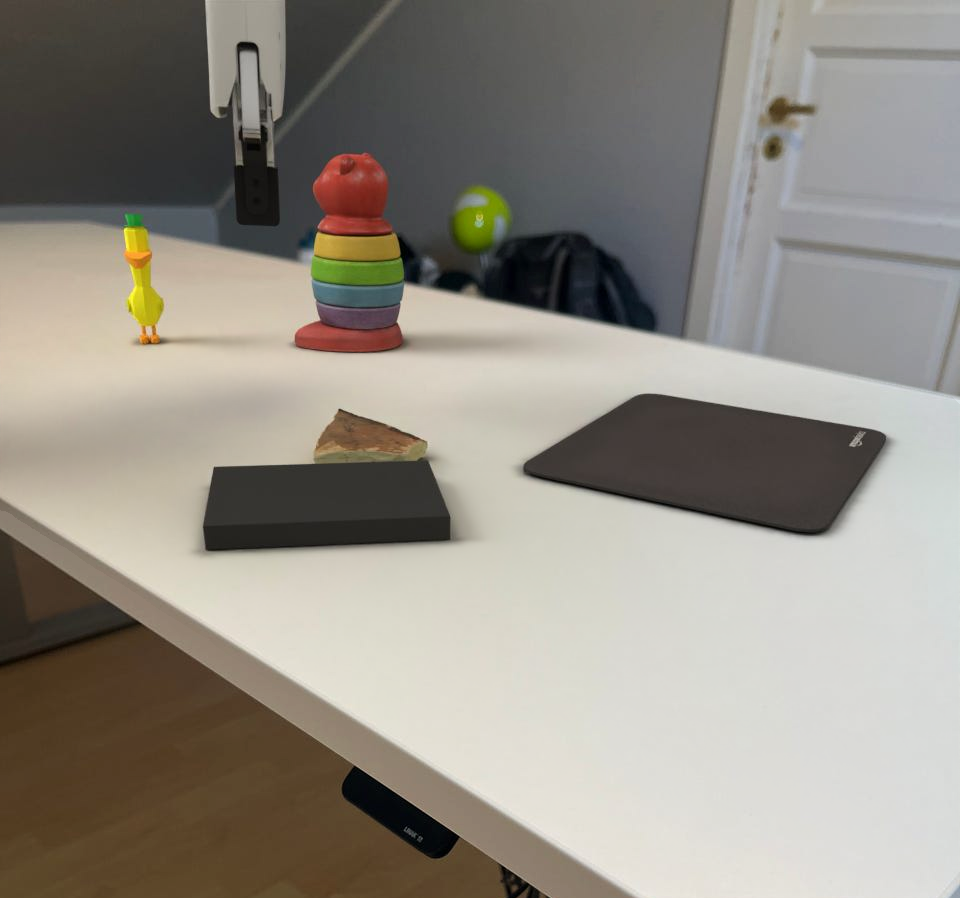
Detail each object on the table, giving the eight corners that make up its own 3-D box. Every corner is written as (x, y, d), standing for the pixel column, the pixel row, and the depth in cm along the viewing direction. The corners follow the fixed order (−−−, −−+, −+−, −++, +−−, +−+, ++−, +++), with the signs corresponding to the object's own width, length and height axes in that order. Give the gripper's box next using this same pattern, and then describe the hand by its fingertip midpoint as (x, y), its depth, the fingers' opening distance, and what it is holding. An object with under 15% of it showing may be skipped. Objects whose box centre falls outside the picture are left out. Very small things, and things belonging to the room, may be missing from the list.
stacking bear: (343, 327, 108) (336, 148, 99) (423, 338, 104) (423, 153, 96) (286, 346, 99) (273, 151, 91) (372, 358, 96) (367, 157, 87)
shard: (339, 427, 76) (338, 404, 75) (436, 431, 76) (436, 408, 75) (309, 473, 67) (308, 448, 66) (420, 479, 66) (420, 453, 65)
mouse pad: (822, 537, 59) (822, 533, 59) (513, 471, 68) (513, 468, 68) (889, 434, 78) (890, 431, 78) (642, 393, 87) (642, 391, 87)
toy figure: (167, 348, 97) (150, 218, 91) (129, 349, 96) (110, 218, 90) (168, 334, 103) (152, 210, 97) (132, 335, 102) (115, 210, 96)
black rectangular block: (205, 550, 55) (202, 525, 54) (215, 488, 64) (213, 466, 63) (450, 539, 57) (450, 516, 57) (428, 481, 66) (428, 459, 65)
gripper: (197, -58, 72) (215, 212, 80) (175, -93, 59) (200, 233, 68) (300, -49, 73) (307, 216, 82) (301, -81, 60) (309, 238, 69)
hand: (258, 223), depth 75 cm, fingers closed
